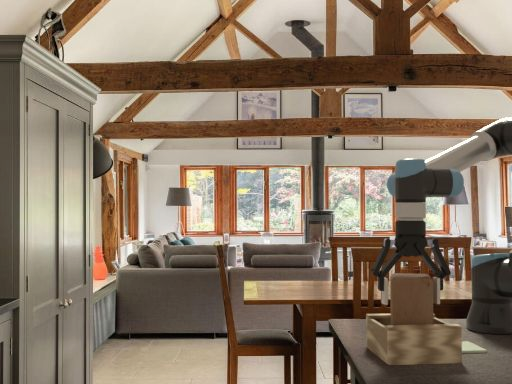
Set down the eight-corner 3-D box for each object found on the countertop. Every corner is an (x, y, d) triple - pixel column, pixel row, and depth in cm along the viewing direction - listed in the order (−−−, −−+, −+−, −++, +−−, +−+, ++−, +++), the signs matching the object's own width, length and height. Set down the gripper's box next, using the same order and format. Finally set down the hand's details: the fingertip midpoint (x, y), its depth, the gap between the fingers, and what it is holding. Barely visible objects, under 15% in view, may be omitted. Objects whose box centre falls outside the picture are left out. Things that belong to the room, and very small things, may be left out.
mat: (468, 343, 160) (468, 341, 160) (486, 352, 150) (486, 350, 150) (433, 344, 159) (433, 342, 159) (449, 353, 149) (449, 351, 149)
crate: (431, 345, 158) (431, 312, 158) (461, 362, 140) (461, 325, 140) (366, 347, 156) (366, 313, 156) (388, 365, 138) (388, 327, 138)
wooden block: (434, 360, 142) (433, 277, 142) (391, 358, 144) (391, 277, 144) (430, 351, 152) (429, 273, 152) (390, 349, 154) (390, 272, 154)
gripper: (450, 219, 154) (451, 300, 153) (358, 219, 151) (358, 301, 150) (464, 220, 146) (464, 305, 146) (367, 219, 144) (367, 306, 143)
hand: (410, 303), depth 148 cm, fingers open, 13 cm apart
